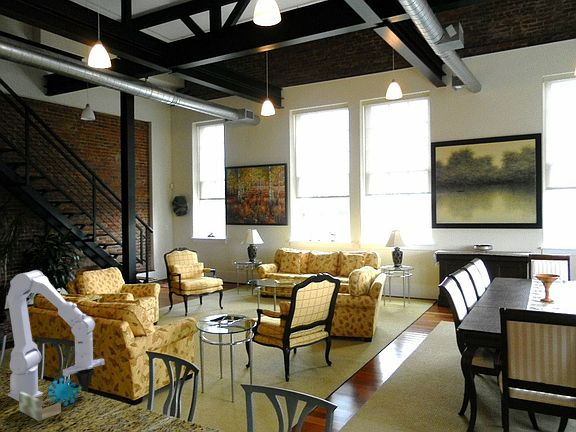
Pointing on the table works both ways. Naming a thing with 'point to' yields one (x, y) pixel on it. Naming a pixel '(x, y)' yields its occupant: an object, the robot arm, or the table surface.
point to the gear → (63, 391)
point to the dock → (36, 407)
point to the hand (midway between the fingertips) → (84, 390)
